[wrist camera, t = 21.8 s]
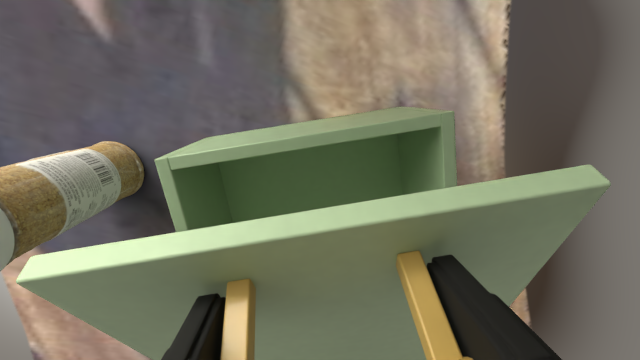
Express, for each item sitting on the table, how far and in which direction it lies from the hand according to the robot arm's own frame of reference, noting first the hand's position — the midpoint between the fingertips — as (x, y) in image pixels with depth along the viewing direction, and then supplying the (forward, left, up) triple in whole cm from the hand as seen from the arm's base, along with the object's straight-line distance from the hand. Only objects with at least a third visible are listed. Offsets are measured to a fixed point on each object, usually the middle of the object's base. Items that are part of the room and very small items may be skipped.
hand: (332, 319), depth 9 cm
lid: (+3, 0, -4) cm, 5 cm away
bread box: (+2, 0, -16) cm, 17 cm away
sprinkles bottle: (-3, -15, -17) cm, 23 cm away
